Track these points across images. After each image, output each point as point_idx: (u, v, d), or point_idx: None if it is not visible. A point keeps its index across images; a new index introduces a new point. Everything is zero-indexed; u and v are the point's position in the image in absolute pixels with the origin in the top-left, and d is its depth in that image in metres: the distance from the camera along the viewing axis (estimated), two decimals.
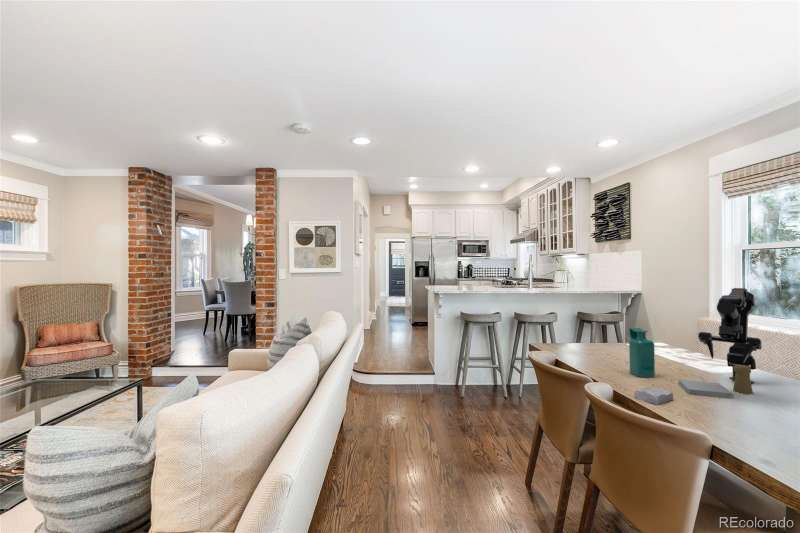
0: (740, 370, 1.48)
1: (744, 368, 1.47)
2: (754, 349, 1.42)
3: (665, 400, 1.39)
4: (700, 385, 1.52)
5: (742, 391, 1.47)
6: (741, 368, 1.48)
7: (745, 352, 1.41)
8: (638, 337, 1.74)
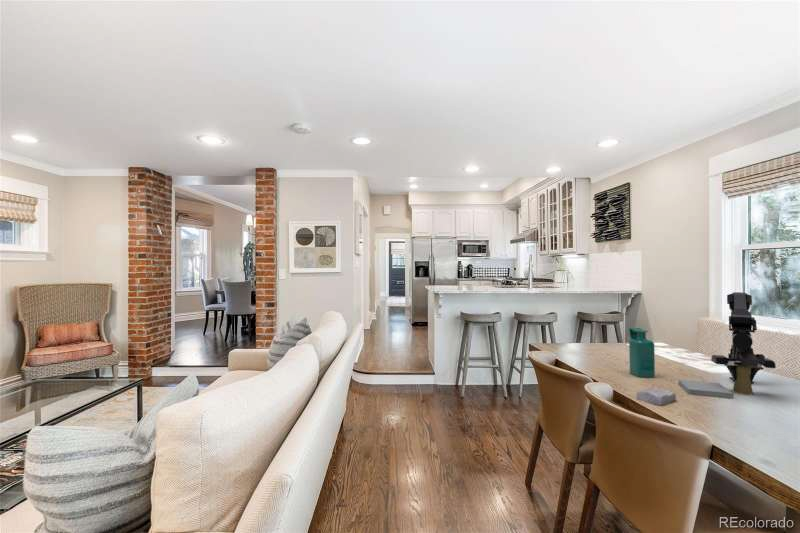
0: (741, 370, 1.48)
1: (744, 368, 1.47)
2: None
3: (668, 401, 1.38)
4: (700, 385, 1.52)
5: (742, 391, 1.47)
6: (741, 368, 1.48)
7: (753, 374, 1.47)
8: (638, 337, 1.74)
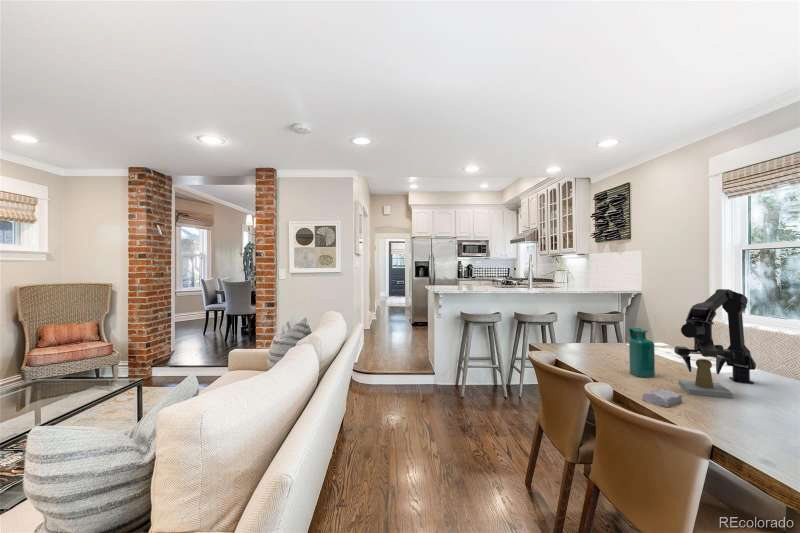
0: (701, 365, 1.50)
1: (705, 362, 1.49)
2: None
3: (674, 402, 1.36)
4: None
5: (703, 385, 1.49)
6: (702, 363, 1.50)
7: (720, 365, 1.48)
8: (638, 337, 1.74)
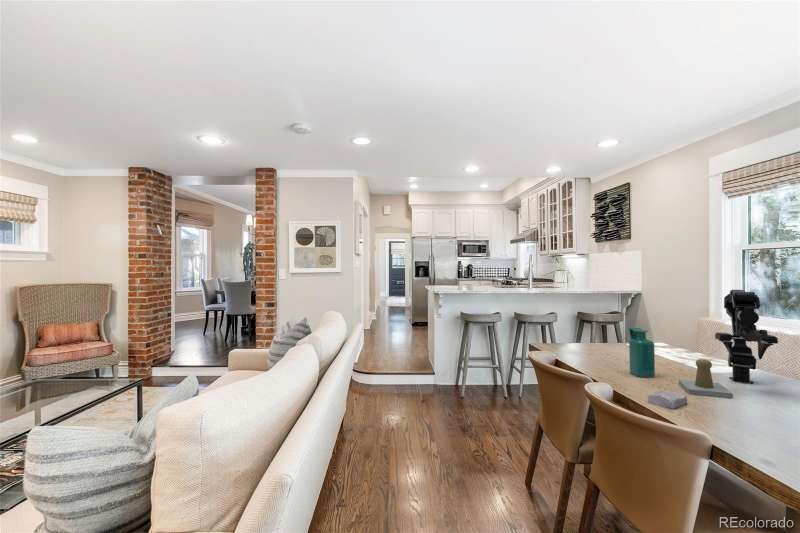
0: (701, 365, 1.50)
1: (705, 362, 1.49)
2: None
3: (680, 404, 1.35)
4: None
5: (703, 385, 1.49)
6: (702, 363, 1.50)
7: (763, 350, 1.50)
8: (638, 337, 1.74)
